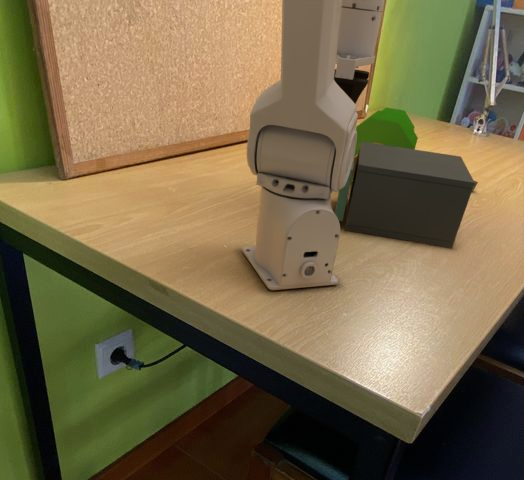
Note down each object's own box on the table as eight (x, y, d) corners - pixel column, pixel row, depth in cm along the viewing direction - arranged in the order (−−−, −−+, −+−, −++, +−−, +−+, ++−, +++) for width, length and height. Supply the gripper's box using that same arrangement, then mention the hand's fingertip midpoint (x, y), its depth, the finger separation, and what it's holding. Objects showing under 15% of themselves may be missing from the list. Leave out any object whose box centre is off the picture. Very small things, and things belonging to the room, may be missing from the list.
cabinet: (344, 230, 67) (358, 164, 62) (348, 200, 77) (360, 141, 72) (452, 248, 66) (475, 182, 61) (441, 215, 75) (461, 156, 70)
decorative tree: (359, 110, 71) (390, 77, 93) (317, 178, 78) (355, 133, 101) (425, 156, 71) (440, 112, 94) (377, 220, 79) (402, 165, 101)
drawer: (300, 214, 67) (308, 162, 63) (308, 189, 76) (316, 142, 72) (432, 236, 66) (448, 184, 62) (425, 207, 75) (439, 161, 71)
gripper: (327, 3, 64) (310, 117, 72) (317, 5, 52) (298, 141, 60) (383, 10, 63) (360, 125, 71) (385, 14, 52) (357, 150, 60)
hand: (335, 133), depth 66 cm, fingers open, 3 cm apart
